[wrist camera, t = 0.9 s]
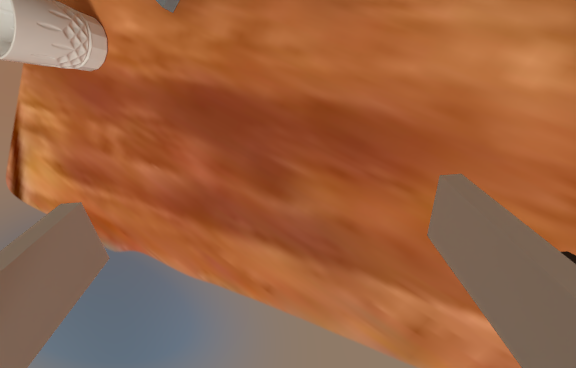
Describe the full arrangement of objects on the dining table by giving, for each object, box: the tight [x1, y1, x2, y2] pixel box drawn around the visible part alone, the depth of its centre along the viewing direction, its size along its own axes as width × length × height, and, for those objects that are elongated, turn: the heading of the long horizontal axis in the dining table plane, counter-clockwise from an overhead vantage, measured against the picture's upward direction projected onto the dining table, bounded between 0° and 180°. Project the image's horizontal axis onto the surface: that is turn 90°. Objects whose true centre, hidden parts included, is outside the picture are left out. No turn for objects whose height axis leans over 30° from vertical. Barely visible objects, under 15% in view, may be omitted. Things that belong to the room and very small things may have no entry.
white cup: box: [0, 0, 107, 71], centre depth 33 cm, size 8×8×10 cm
